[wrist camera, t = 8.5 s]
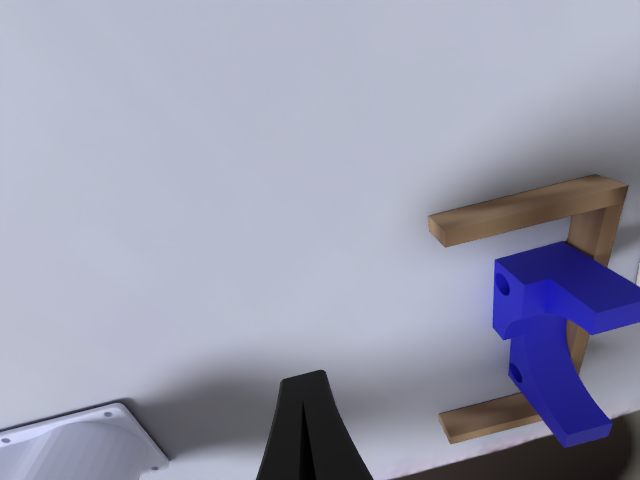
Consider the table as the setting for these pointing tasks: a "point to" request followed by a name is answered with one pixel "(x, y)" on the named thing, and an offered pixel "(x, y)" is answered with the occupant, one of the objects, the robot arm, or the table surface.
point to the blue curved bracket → (558, 330)
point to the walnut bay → (515, 213)
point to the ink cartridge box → (638, 278)
